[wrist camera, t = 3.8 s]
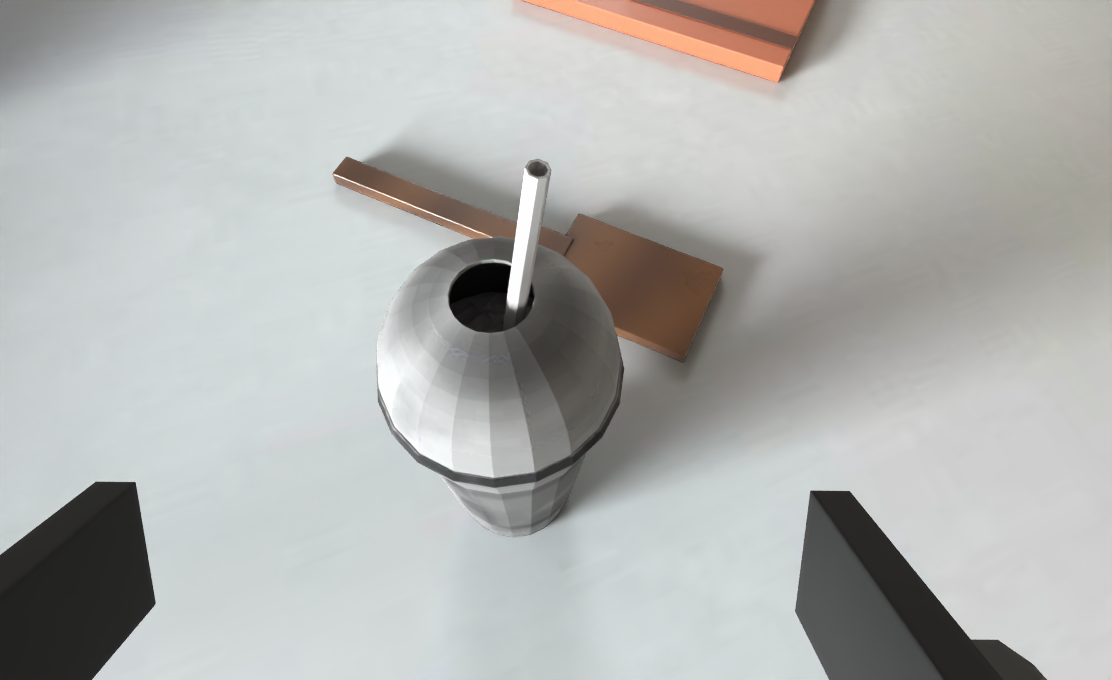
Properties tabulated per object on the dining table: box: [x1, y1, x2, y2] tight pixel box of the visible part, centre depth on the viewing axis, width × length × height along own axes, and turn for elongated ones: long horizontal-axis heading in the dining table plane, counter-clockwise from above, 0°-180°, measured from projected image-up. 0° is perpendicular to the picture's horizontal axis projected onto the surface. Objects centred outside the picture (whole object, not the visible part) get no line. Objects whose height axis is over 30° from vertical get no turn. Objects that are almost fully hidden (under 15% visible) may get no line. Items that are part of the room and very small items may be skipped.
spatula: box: [333, 157, 724, 362], centre depth 37 cm, size 21×6×1 cm, turn 65°
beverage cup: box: [377, 159, 624, 537], centre depth 22 cm, size 7×7×20 cm
